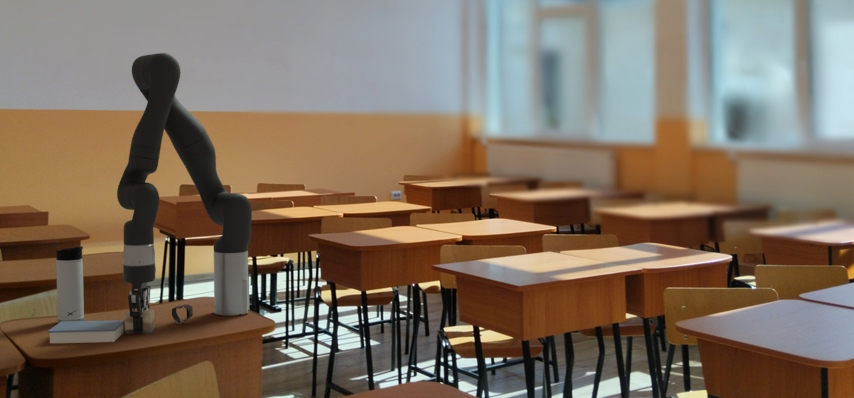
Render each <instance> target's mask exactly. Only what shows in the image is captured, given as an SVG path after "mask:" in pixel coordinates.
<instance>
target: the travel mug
mask: <svg viewBox="0 0 854 398" xmlns="http://www.w3.org/2000/svg"><path fill="white" fill-rule="evenodd" d="M83 249H84V247H83V246H81V245H80V246H75V247H67V248H61V249H56V252H55V253H56V255H55V256H56V261H55V263H56V265H55V266H56V298H57V299H56V303H57V306H56V307H57V308H56V309H57V324H59V323H60V322H61V321H85V316H84V315H85V308H84V307H85V306H84V301H85V300H84V263H83V261H84V260H83Z"/></svg>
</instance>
